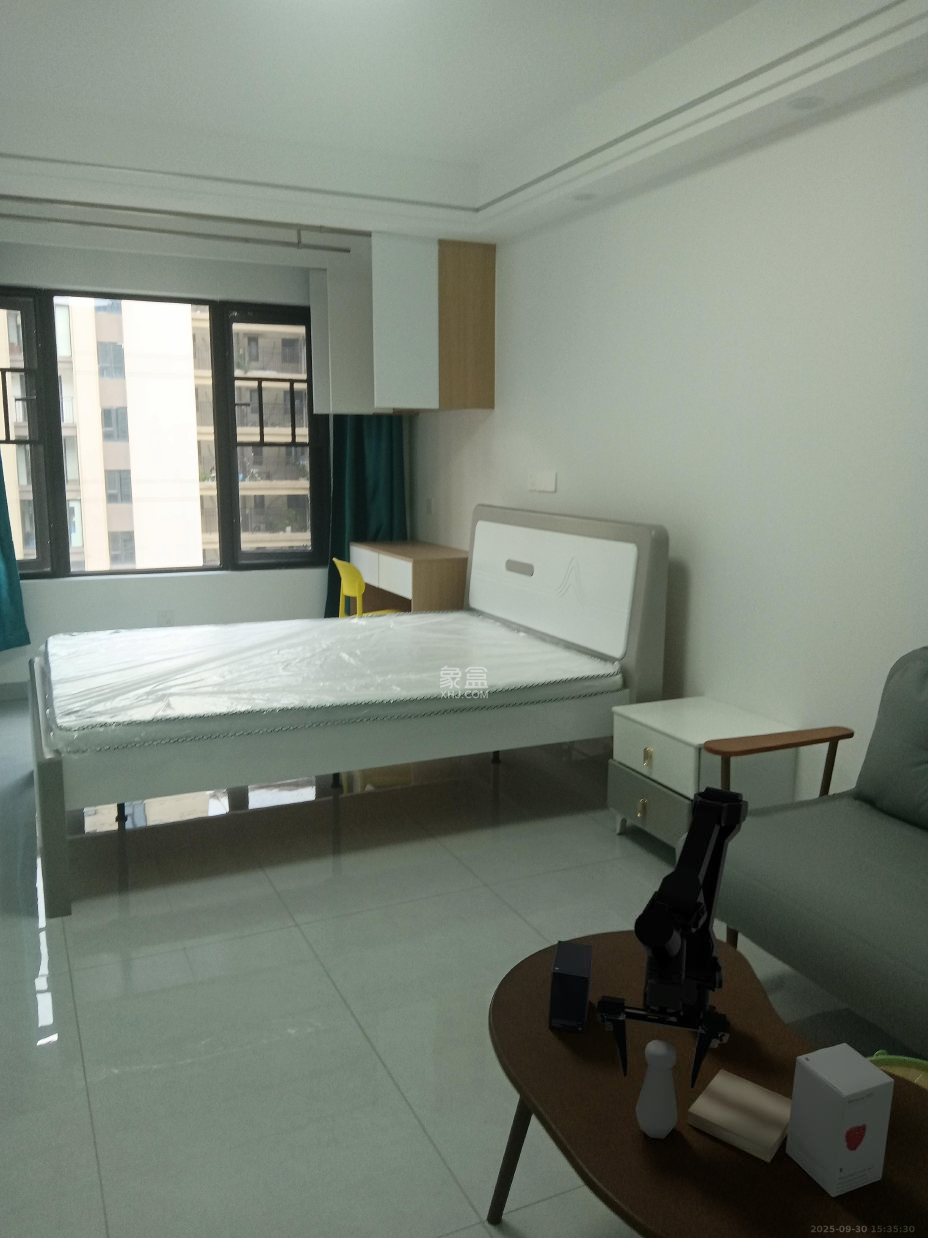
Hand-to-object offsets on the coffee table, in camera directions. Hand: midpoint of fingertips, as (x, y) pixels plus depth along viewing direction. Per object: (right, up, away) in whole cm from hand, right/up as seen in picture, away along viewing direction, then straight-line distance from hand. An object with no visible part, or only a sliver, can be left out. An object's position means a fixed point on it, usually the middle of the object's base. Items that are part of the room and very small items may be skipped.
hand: (658, 1083), depth 132 cm
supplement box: (+23, -9, -4) cm, 25 cm away
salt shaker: (0, -8, +2) cm, 8 cm away
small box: (-9, -2, +29) cm, 30 cm away
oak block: (+13, -8, +4) cm, 16 cm away
